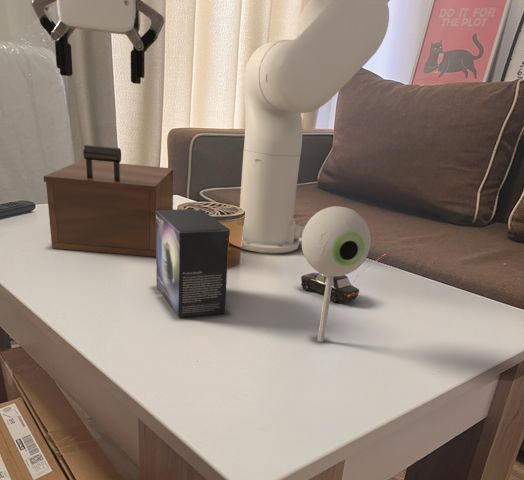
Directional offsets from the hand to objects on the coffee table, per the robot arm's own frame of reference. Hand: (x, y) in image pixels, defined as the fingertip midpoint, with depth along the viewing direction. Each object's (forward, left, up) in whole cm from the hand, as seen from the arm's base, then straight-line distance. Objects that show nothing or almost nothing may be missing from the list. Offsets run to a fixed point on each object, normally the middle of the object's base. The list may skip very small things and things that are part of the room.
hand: (101, 79), depth 73 cm
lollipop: (-31, +29, -24) cm, 49 cm away
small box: (-15, +20, -24) cm, 35 cm away
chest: (0, -6, -24) cm, 25 cm away
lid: (0, -6, -14) cm, 15 cm away
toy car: (-35, +15, -24) cm, 45 cm away
